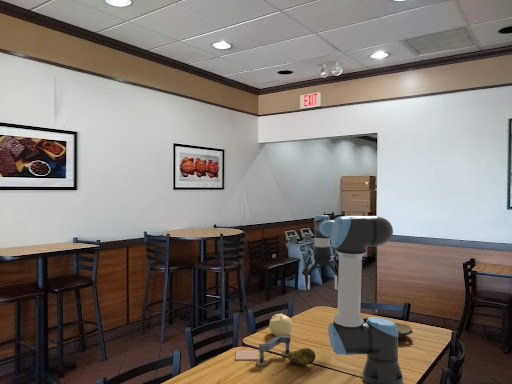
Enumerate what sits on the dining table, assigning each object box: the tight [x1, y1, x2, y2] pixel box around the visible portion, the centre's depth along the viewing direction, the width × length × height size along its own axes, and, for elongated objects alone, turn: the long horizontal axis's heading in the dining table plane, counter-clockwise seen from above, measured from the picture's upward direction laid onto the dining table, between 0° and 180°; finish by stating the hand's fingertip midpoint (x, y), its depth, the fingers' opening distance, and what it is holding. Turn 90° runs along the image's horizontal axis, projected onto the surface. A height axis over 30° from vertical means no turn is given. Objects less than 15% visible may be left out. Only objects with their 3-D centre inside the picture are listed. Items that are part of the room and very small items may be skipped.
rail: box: [255, 335, 292, 367], centre depth 183 cm, size 7×21×8 cm, turn 133°
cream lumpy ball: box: [268, 313, 293, 337], centre depth 215 cm, size 12×12×11 cm
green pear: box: [287, 347, 316, 366], centre depth 176 cm, size 8×13×8 cm, turn 27°
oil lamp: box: [360, 315, 414, 338], centre depth 214 cm, size 22×30×8 cm
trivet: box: [234, 349, 259, 361], centre depth 186 cm, size 10×10×1 cm
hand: (322, 289), depth 205 cm, fingers open, 13 cm apart
